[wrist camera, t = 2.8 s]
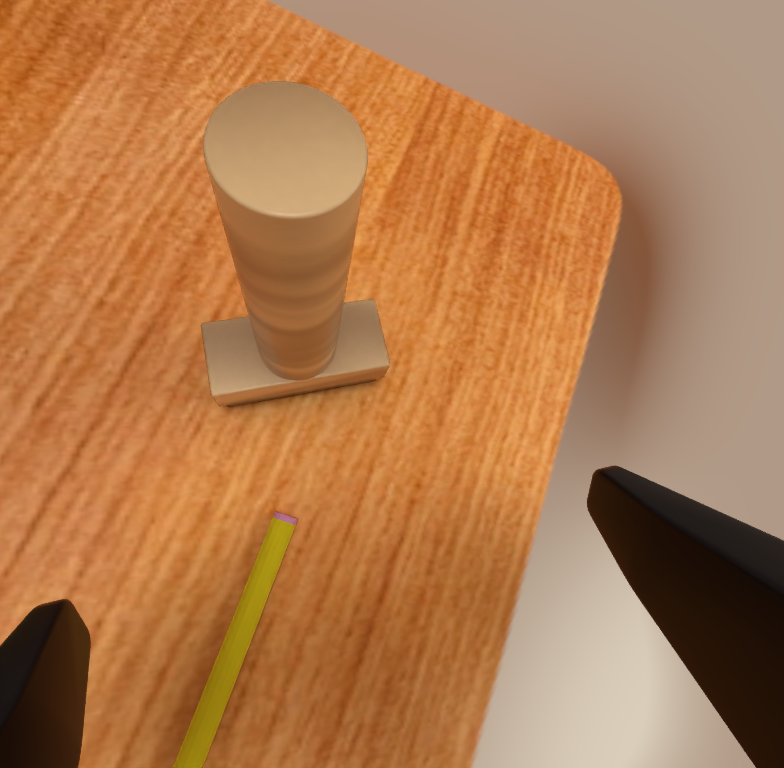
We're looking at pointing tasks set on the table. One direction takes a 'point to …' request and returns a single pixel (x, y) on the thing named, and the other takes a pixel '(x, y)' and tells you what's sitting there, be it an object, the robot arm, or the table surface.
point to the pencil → (235, 644)
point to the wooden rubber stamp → (289, 245)
